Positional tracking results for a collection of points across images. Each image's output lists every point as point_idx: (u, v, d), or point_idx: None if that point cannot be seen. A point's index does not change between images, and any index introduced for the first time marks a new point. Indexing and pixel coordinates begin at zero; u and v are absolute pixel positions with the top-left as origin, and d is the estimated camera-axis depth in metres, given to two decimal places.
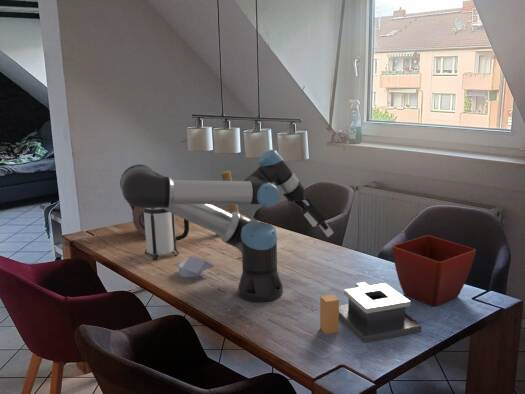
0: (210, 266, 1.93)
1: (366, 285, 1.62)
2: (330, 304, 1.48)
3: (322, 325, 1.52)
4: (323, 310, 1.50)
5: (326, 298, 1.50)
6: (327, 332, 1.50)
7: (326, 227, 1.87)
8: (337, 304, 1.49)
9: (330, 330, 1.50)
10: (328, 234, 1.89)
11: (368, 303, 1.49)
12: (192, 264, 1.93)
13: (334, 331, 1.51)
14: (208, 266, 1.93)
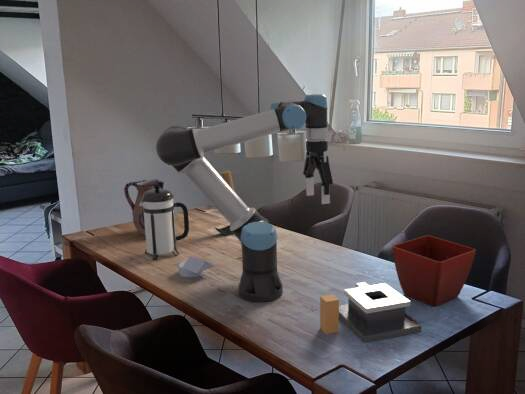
0: (210, 266, 1.93)
1: (366, 285, 1.62)
2: (330, 304, 1.48)
3: (322, 325, 1.52)
4: (323, 310, 1.50)
5: (326, 298, 1.50)
6: (327, 332, 1.50)
7: (327, 192, 1.78)
8: (337, 304, 1.49)
9: (330, 330, 1.50)
10: (324, 201, 1.80)
11: (368, 303, 1.49)
12: (192, 264, 1.93)
13: (334, 331, 1.51)
14: (208, 266, 1.93)
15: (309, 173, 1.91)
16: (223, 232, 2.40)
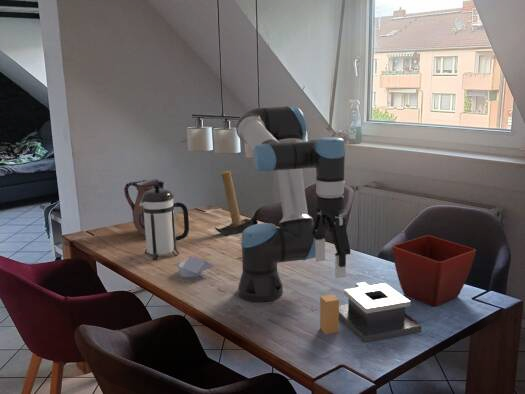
0: (210, 266, 1.93)
1: (366, 285, 1.62)
2: (330, 304, 1.48)
3: (322, 325, 1.52)
4: (323, 310, 1.50)
5: (326, 298, 1.50)
6: (327, 332, 1.50)
7: (343, 264, 1.39)
8: (337, 304, 1.49)
9: (330, 330, 1.50)
10: (338, 274, 1.41)
11: (368, 303, 1.49)
12: (192, 264, 1.93)
13: (334, 331, 1.51)
14: (208, 266, 1.93)
15: (319, 234, 1.51)
16: (223, 232, 2.40)
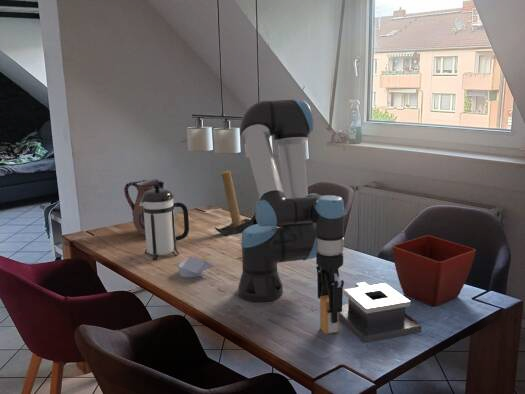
0: (209, 266, 1.93)
1: (366, 285, 1.62)
2: None
3: (322, 325, 1.52)
4: (323, 310, 1.50)
5: (326, 298, 1.50)
6: (327, 332, 1.50)
7: (335, 320, 1.48)
8: None
9: None
10: (331, 330, 1.49)
11: (368, 303, 1.49)
12: (191, 264, 1.93)
13: None
14: (208, 266, 1.93)
15: None
16: (223, 232, 2.40)
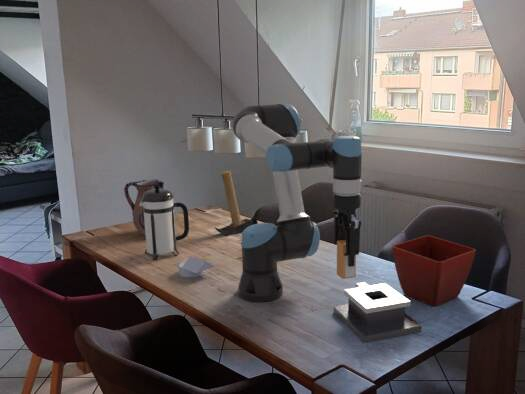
0: (209, 266, 1.93)
1: (366, 285, 1.62)
2: None
3: (338, 270, 1.49)
4: (340, 254, 1.47)
5: (342, 242, 1.47)
6: (344, 277, 1.47)
7: (352, 264, 1.45)
8: None
9: None
10: (348, 274, 1.46)
11: (368, 303, 1.49)
12: (191, 264, 1.93)
13: None
14: (208, 266, 1.93)
15: None
16: (223, 232, 2.40)
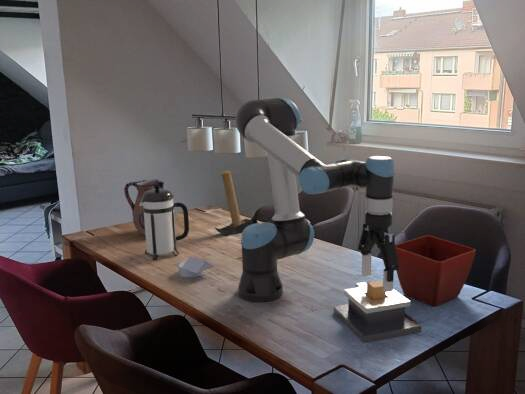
0: (209, 266, 1.93)
1: (366, 285, 1.62)
2: (378, 290, 1.52)
3: None
4: (370, 296, 1.54)
5: (373, 284, 1.53)
6: None
7: (391, 279, 1.46)
8: None
9: None
10: (386, 289, 1.47)
11: (368, 303, 1.49)
12: (191, 264, 1.93)
13: None
14: (208, 266, 1.93)
15: (366, 249, 1.57)
16: (223, 232, 2.40)
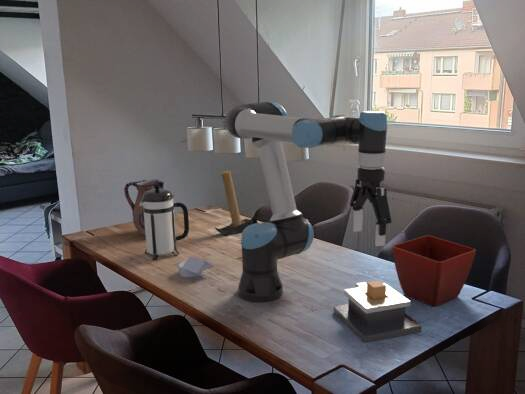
0: (209, 266, 1.93)
1: (366, 285, 1.62)
2: (378, 290, 1.52)
3: None
4: (370, 296, 1.54)
5: (373, 284, 1.53)
6: None
7: (383, 233, 1.45)
8: (385, 289, 1.53)
9: None
10: (378, 243, 1.47)
11: (368, 303, 1.49)
12: (191, 264, 1.93)
13: None
14: (208, 266, 1.93)
15: (358, 205, 1.57)
16: (223, 232, 2.40)
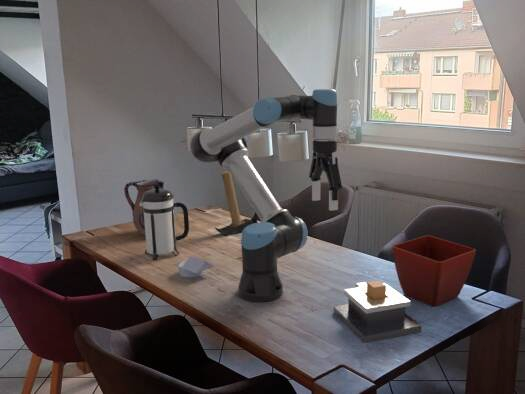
0: (209, 266, 1.93)
1: (366, 285, 1.62)
2: (378, 290, 1.52)
3: None
4: (370, 296, 1.54)
5: (373, 284, 1.53)
6: None
7: (336, 198, 1.61)
8: (385, 289, 1.53)
9: None
10: (332, 207, 1.63)
11: (368, 303, 1.49)
12: (191, 264, 1.93)
13: None
14: (208, 266, 1.93)
15: (315, 176, 1.73)
16: (223, 232, 2.40)
